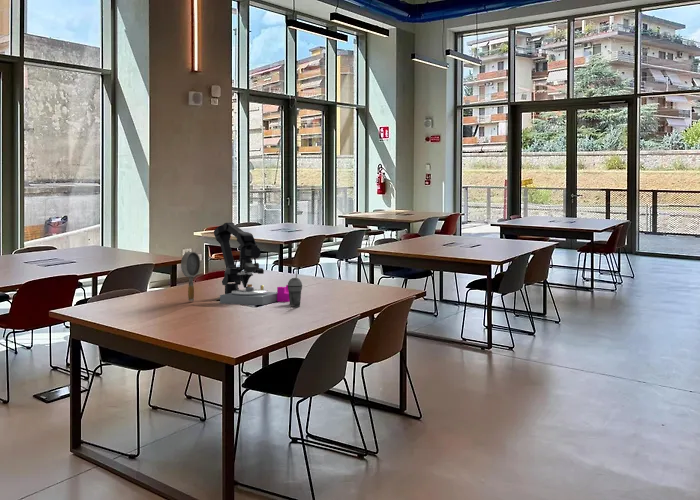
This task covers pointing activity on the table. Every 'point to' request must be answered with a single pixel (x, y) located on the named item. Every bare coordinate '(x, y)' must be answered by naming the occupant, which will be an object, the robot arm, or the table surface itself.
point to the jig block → (249, 298)
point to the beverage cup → (295, 291)
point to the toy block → (282, 294)
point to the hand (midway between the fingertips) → (244, 287)
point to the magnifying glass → (190, 270)
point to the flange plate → (249, 291)
